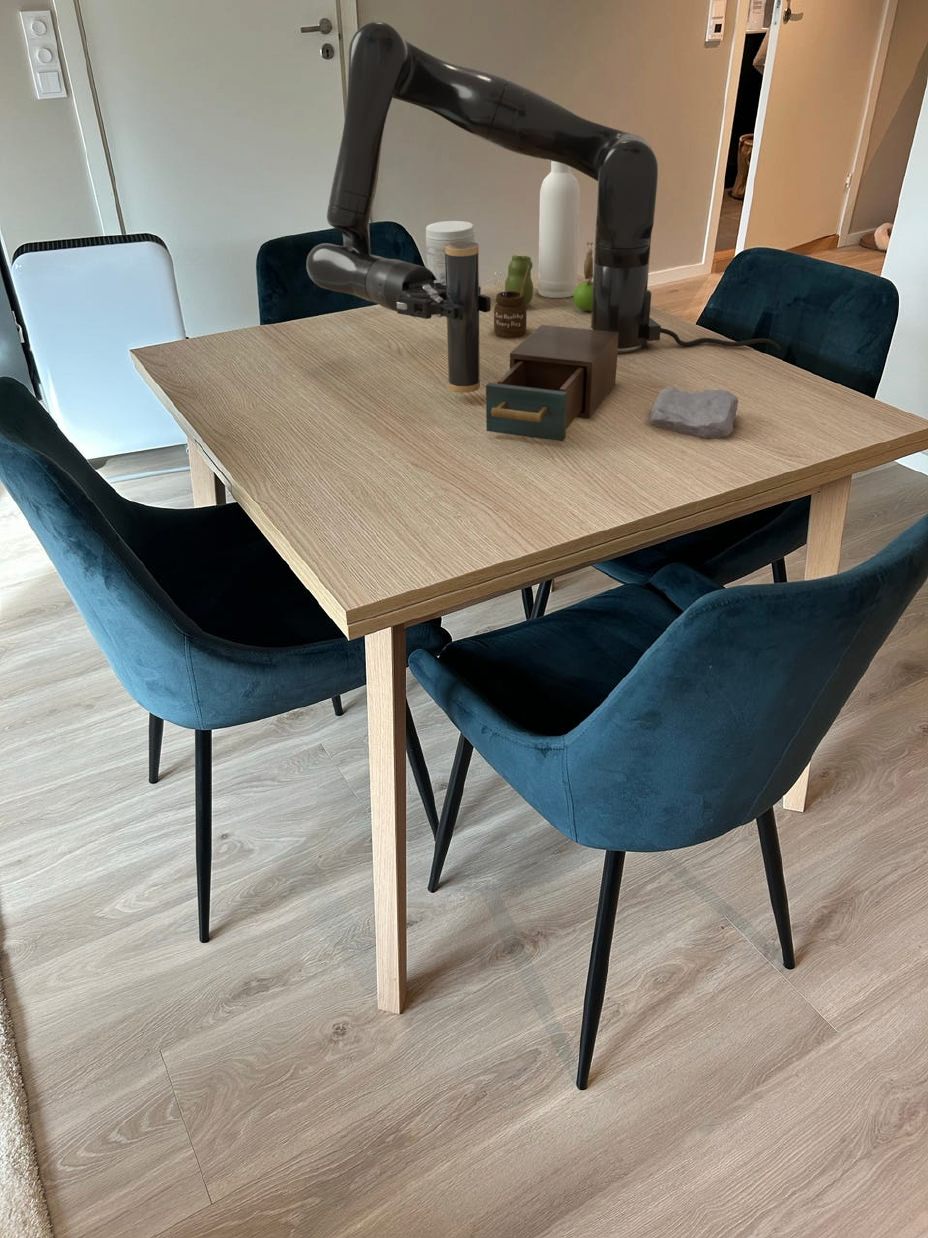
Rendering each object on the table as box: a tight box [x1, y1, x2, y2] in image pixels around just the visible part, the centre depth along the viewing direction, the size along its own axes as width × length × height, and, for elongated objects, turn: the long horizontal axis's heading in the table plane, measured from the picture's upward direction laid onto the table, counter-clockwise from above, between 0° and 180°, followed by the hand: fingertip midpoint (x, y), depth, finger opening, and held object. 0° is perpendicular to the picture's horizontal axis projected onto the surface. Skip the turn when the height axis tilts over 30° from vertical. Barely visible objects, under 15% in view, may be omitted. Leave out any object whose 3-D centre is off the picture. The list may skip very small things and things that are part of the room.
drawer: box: [485, 360, 587, 442], centre depth 138 cm, size 17×11×7 cm, turn 158°
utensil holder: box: [493, 265, 529, 339], centre depth 175 cm, size 6×6×12 cm
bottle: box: [537, 161, 581, 299], centre depth 192 cm, size 8×8×30 cm
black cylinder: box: [445, 241, 481, 393], centre depth 144 cm, size 5×5×21 cm
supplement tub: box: [425, 220, 476, 282], centre depth 192 cm, size 10×10×15 cm
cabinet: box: [509, 324, 619, 420], centre depth 149 cm, size 15×13×9 cm
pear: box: [504, 254, 534, 307], centre depth 190 cm, size 6×5×10 cm
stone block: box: [650, 386, 739, 439], centre depth 140 cm, size 12×5×10 cm
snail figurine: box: [572, 241, 594, 312], centre depth 186 cm, size 5×6×12 cm
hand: (475, 308), depth 142 cm, fingers closed on black cylinder, 5 cm apart
